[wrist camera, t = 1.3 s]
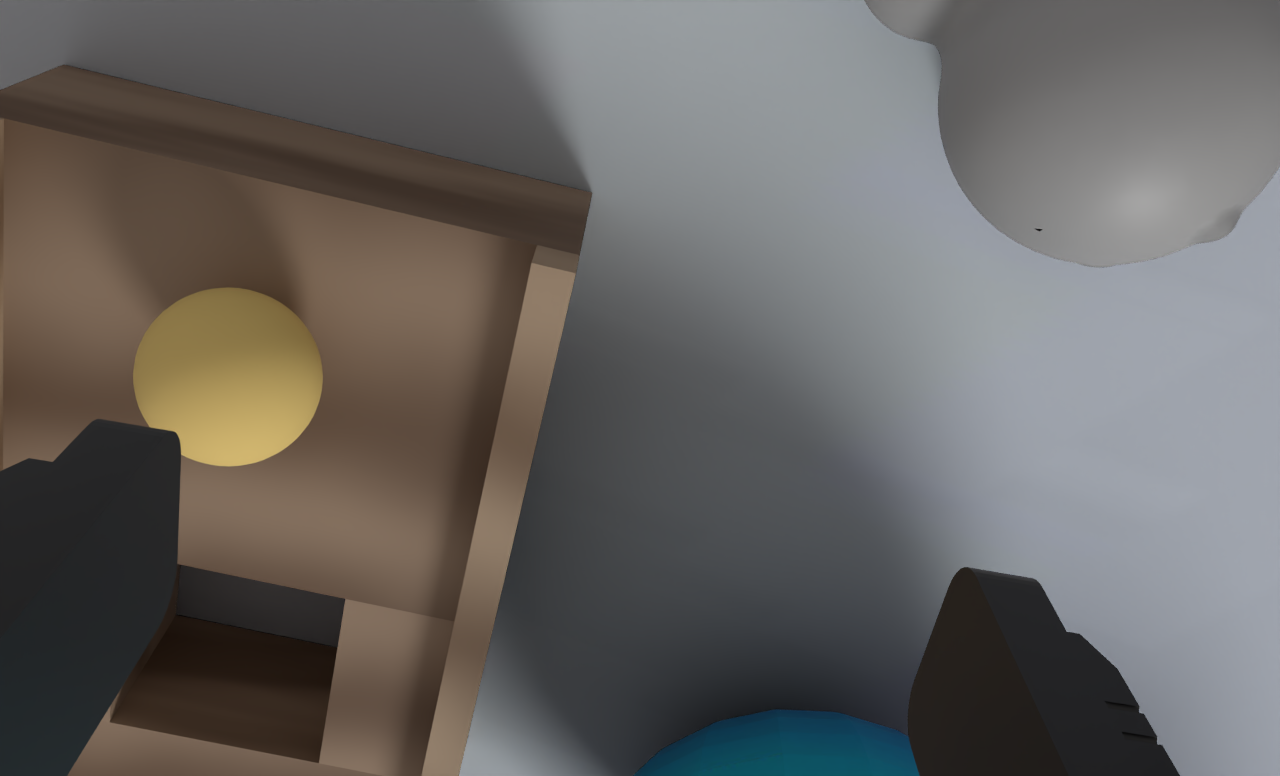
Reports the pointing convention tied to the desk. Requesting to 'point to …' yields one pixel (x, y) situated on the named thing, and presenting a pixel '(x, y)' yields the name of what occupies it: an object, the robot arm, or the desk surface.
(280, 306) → the ball
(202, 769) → the wooden box
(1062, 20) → the round bodied animal figurine
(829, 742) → the decorative orb
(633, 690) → the desk surface
